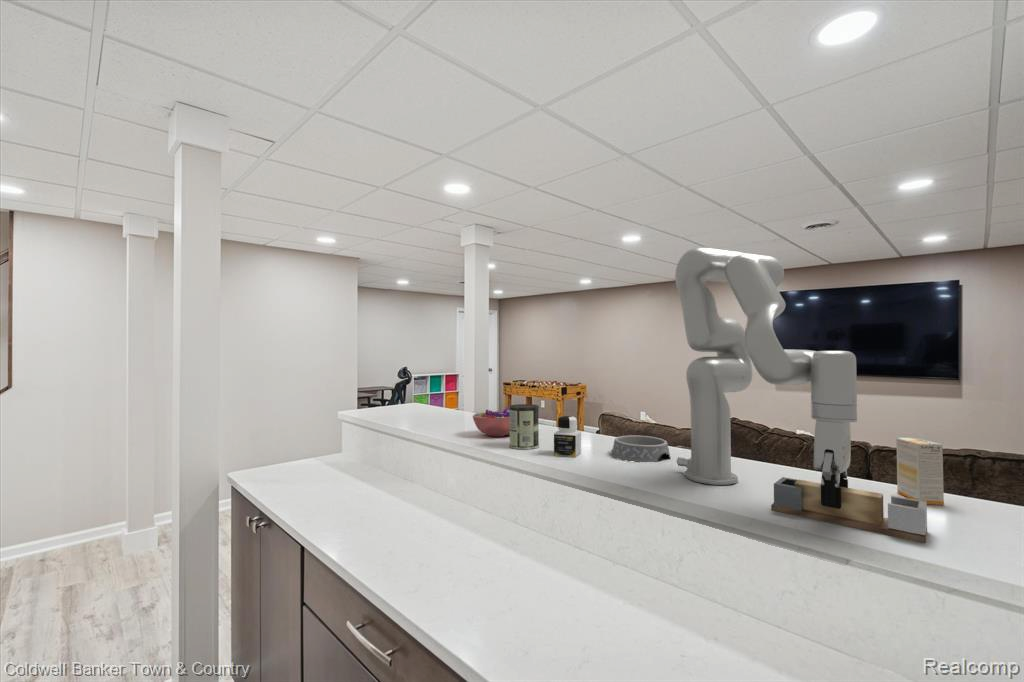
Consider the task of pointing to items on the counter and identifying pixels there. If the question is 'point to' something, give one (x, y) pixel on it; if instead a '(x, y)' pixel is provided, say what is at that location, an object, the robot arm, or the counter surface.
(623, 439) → the dog bowl
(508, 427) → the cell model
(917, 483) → the supplement box
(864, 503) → the slat
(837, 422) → the robot arm
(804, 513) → the base board
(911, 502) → the bracket
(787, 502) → the grey end holder
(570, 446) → the medicine bottle
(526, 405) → the coffee can
